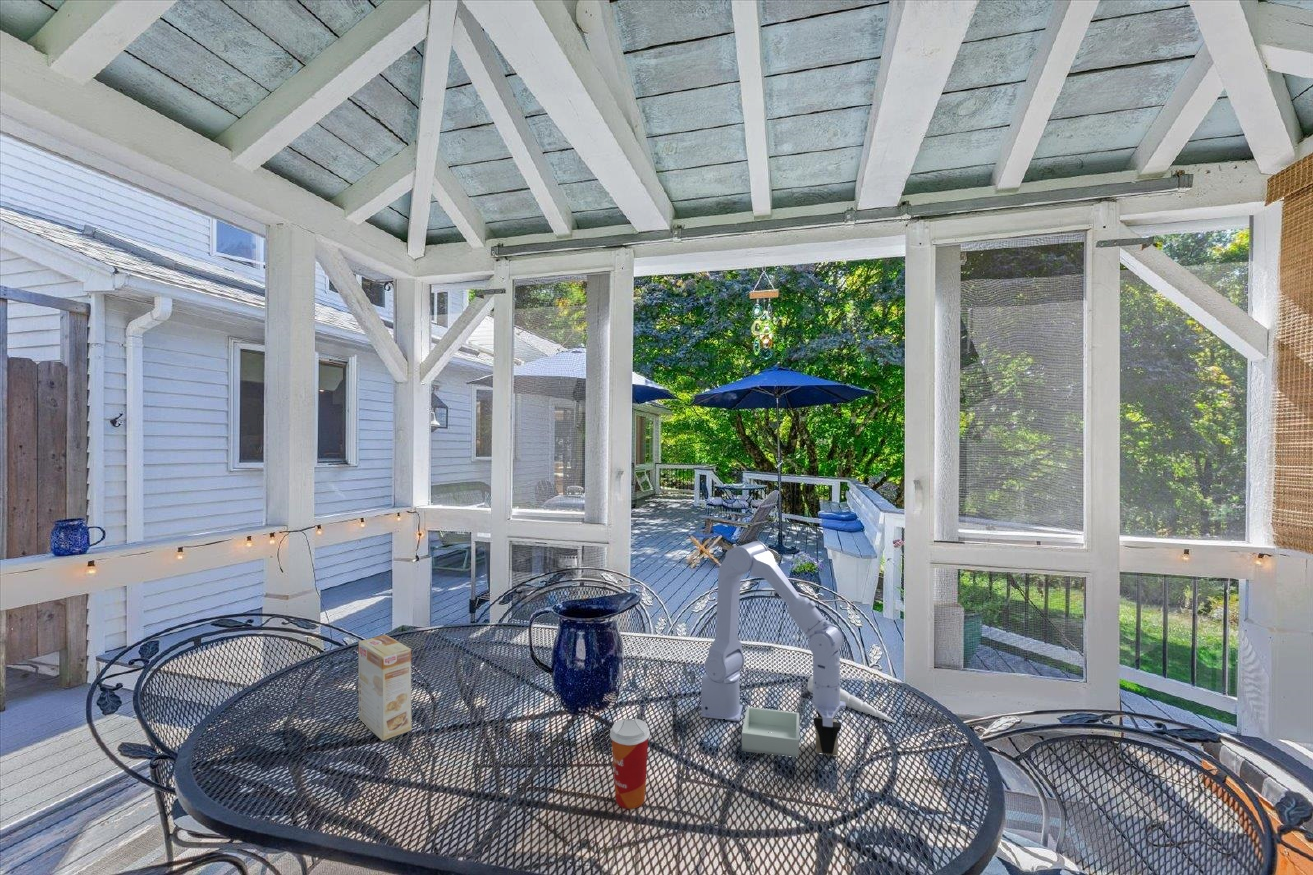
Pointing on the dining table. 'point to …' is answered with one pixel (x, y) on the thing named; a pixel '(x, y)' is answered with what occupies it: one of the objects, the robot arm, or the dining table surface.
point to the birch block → (818, 745)
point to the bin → (770, 721)
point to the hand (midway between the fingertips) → (826, 743)
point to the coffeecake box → (385, 686)
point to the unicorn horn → (855, 703)
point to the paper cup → (630, 761)
